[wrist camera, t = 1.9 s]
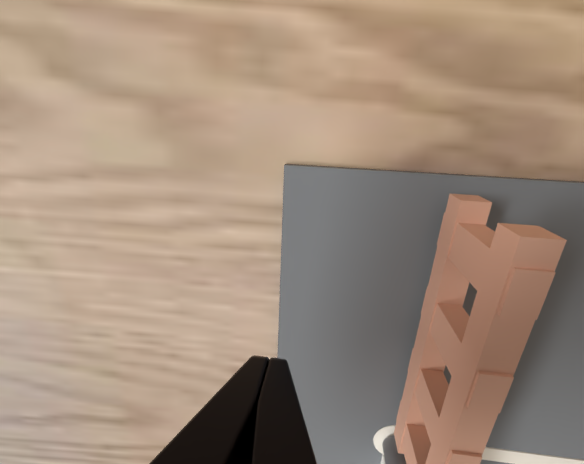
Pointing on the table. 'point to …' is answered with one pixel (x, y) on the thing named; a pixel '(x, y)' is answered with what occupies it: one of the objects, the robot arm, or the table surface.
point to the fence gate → (470, 333)
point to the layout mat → (417, 307)
